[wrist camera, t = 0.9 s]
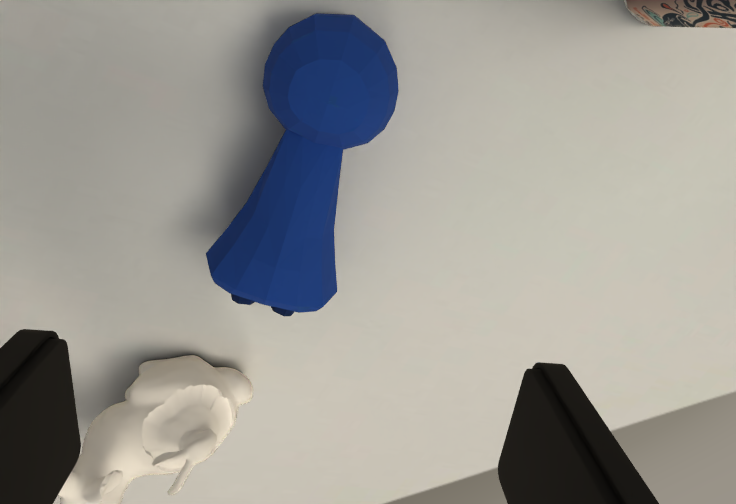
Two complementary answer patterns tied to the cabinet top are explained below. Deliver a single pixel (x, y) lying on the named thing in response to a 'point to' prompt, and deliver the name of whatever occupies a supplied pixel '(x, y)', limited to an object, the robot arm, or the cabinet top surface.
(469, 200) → the cabinet top surface
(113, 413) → the rabbit figurine
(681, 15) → the beer can
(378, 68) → the toy
